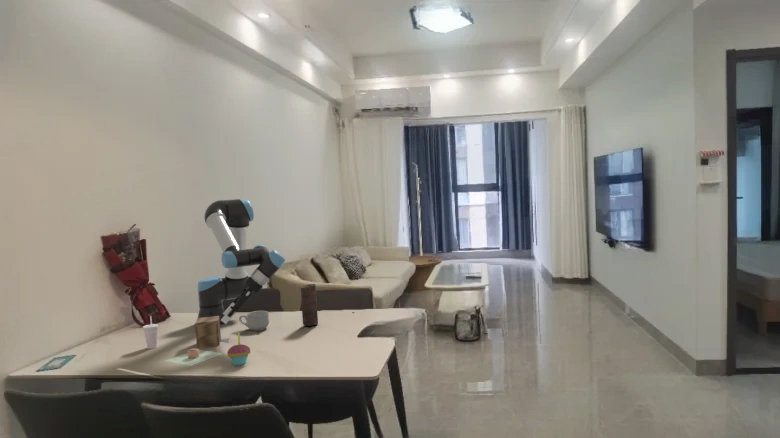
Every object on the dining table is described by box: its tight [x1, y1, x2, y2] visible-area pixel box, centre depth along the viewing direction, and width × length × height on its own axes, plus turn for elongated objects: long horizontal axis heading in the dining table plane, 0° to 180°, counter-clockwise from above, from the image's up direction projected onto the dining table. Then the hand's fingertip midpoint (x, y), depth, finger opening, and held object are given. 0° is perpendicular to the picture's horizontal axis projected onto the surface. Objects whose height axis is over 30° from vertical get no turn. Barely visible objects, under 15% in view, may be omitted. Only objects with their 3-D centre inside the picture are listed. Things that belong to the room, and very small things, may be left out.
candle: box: [300, 283, 319, 327], centre depth 251 cm, size 8×7×20 cm
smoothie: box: [142, 315, 159, 350], centre depth 228 cm, size 6×6×14 cm
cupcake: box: [226, 332, 251, 366], centre depth 198 cm, size 9×8×12 cm
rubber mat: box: [220, 338, 230, 344], centre depth 227 cm, size 16×12×1 cm
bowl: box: [187, 347, 200, 359], centre depth 208 cm, size 4×4×3 cm
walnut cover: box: [194, 316, 222, 349], centre depth 227 cm, size 9×10×11 cm
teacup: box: [238, 310, 270, 332], centre depth 250 cm, size 14×11×8 cm
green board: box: [164, 349, 223, 367], centre depth 208 cm, size 16×16×1 cm
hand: (224, 318), depth 227 cm, fingers open, 13 cm apart
